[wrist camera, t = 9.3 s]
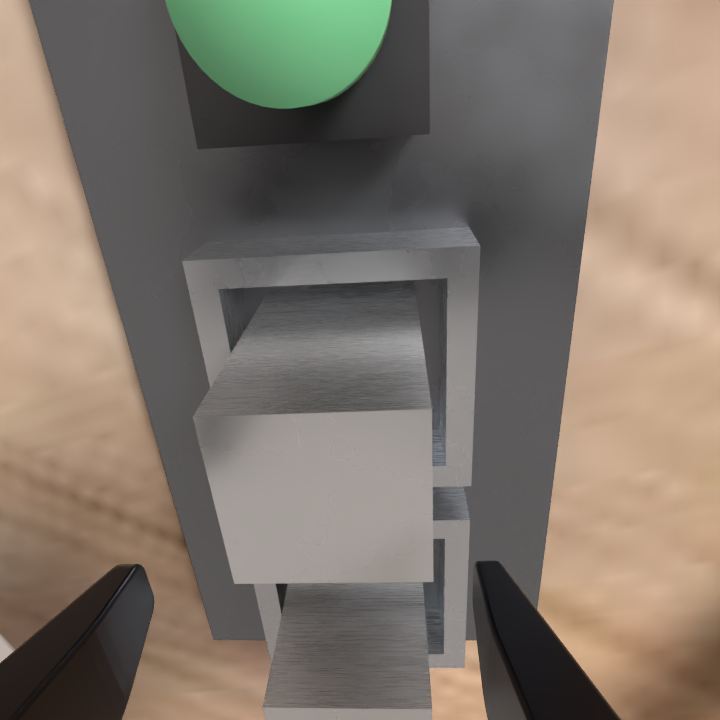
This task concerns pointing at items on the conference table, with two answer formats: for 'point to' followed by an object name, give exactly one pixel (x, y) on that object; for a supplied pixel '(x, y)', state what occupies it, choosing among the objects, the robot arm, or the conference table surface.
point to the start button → (282, 45)
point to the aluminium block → (324, 440)
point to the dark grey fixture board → (354, 246)
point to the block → (351, 654)
